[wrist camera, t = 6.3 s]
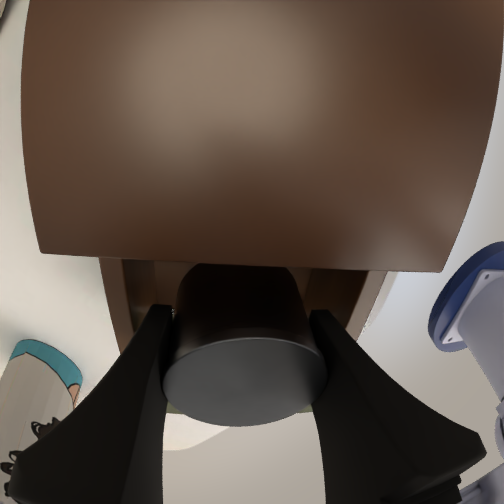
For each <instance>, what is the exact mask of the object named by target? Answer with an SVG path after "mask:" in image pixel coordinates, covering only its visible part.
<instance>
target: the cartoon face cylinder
mask: <svg viewBox="0 0 504 504" xmlns="http://www.w3.org/2000/svg"><path fill="white" fill-rule="evenodd" d="M81 384H82V375H81V373H80V370H79V369H78V368H77V367H76V365H75V364H74V363H73V362H72V361H71V360H70V359H69V358H67V357H66V356H65V355H64V354H62V353H61V352H59V351H58V350H56V349H54V348H53V347H51V346H48V345H46V344H44V343H42V342H38V341H34V340H22V341H20V342H18V343H17V345H16V347H15V349H14V351H13V353H12V355H11V357H10V359H9V362H8V364H7V366H6V368H5V370H4V373H3V375H2V377H1V379H0V501H1V502H3V503H4V504H22V503H20V502H19V501H17V500H15V499H13V498H11V497H10V496H9V495H8V488H9V482H10V477H11V473H12V468H13V465H14V462H15V460H16V457H17V455H18V454H19V453H20V452H22V451H23V450H25V449H26V448H28V447H29V446H30V445H32V444H33V443H35V442H36V441H37V440H39V439H40V438H42V437H43V436H44V435H45V434H47V433H48V432H49V431H50V430H51V429H53V428H54V427H55V426H56V425H57V424H58V423H60V422H61V421H62V420H63V419H64V418H65V417H66V416H68V415H69V414H70V413H71V412H72V411H73V410H74V409H75V406H76V402H77V399H78V395H79V391H80V388H81Z"/></svg>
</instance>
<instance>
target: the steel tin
mask: <svg viewBox="0 0 504 504" xmlns="http://www.w3.org/2000/svg"><path fill="white" fill-rule="evenodd" d="M327 380H328V369H327V365H326V362H325V359H324V356H323V355H322V353H321V351H320V350H319V349H318V348H317V345H316V342H315V339H314V336H313V333H312V330H311V327H310V323H309V320H308V317H307V314H306V311H305V308H304V305H303V302H302V299H301V296H300V293H299V290H298V287H297V284H296V281H295V279H294V277H293V275H292V274H291V273H290V272H289V270H288V269H287V268H286V267H269V266H247V265H227V264H207V263H198V264H196V265H195V266H194V267H193V268H192V269H190V270H189V271H188V273H187V274H186V275H185V276H184V278H183V279H182V281H181V283H180V285H179V287H178V291H177V296H176V303H175V310H174V317H173V324H172V332H171V339H170V347H169V355H168V361H167V362H166V365H165V367H164V371H163V377H162V389H163V392H164V395H165V397H166V398H167V400H168V401H169V403H170V404H171V405H172V406H173V407H174V408H176V409H177V410H178V411H180V412H181V413H183V414H185V415H186V416H188V417H191V418H193V419H195V420H198V421H201V422H205V423H209V424H214V425H220V426H235V427H236V426H237V427H241V426H254V425H261V424H267V423H271V422H275V421H278V420H281V419H284V418H287V417H289V416H292V415H294V414H296V413H298V412H300V411H301V410H303V409H305V408H306V407H307V406H309V405H310V404H312V403H313V402H314V401H315V400H316V399H317V398H318V397H319V396H320V395H321V393H322V392H323V390H324V389H325V386H326V384H327Z"/></svg>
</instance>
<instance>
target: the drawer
mask: <svg viewBox="0 0 504 504" xmlns="http://www.w3.org/2000/svg"><path fill="white" fill-rule="evenodd" d="M99 263H100V268H101V274H102V279H103V284H104V289H105V294H106V298H107V303H108V307H109V312H110V316H111V320H112V324H113V328H114V332H115V336H116V340H117V343H118V347H119V351H120V354H121V353H122V352H123V350H124V349H125V348H126V346H127V344H128V343H129V341H130V340H131V338H132V337H133V336H134V334H135V332H136V331H137V329H138V328H139V326H140V324H141V323H142V321H143V319H144V317H145V316H146V314H147V312H148V310H149V308H150V306H152V305H153V304H162V305H171V306H172V309H175V303H176V296H177V291H178V287H179V285H180V283H181V281H182V279H183V278H184V276H185V275H186V274H187V273H188V271H189V270H190V269H192V268H193V267H194V266H195V265H196V264H198V263H188V262H170V261H152V260H135V259H119V258H103V257H99ZM286 268H287V269H288V270H289V272H290V273H291V274H292V275H293V277H294V279H295V281H296V284H297V287H298V290H299V293H300V296H301V299H302V302H303V305H304V308H305V311H306V314H307V317H308V319H309V316H310V312H311V309H328V310H329V311H330V312H331V314H332V315H333V316H334V317H335V318H336V319H337V321H338V322H339V323H340V324H341V325H342V326H343V327H344V329H345V330H346V331H347V332H348V333H349V334H350V336H351V337H352V338H353V339H354V340H355V341H357V339H358V337H359V335H360V333H361V331H362V329H363V326H364V324H365V322H366V320H367V318H368V316H369V314H370V311H371V309H372V307H373V305H374V302H375V300H376V298H377V296H378V293H379V291H380V289H381V286H382V284H383V281H384V279H385V276H386V274H387V272H388V271H370V270H342V269H316V268H292V267H286ZM173 317H174V314H172V321H173ZM305 412H313V410H312V407H311V404H310V405H309V406H307V407H306V408H305V409H303V410H301V411H300V412H298V413H305ZM166 413H173V414H183V413H181V412H180V411H178V410H177V409H176V408H174V407H173V406H172V405H171V404H170V403H169V401H168V404H167V410H166Z"/></svg>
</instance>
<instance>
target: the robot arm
mask: <svg viewBox="0 0 504 504" xmlns="http://www.w3.org/2000/svg"><path fill="white" fill-rule="evenodd" d="M308 320H309V323H310V327H311V330H312V333H313V336H314V339H315V342H316V345H317V348H318V349H319V350H320V351H321V353H322V355H323V356H324V359H325V362H326V365H327V369H328V380H327V384H326V386H325V389H324V390H323V392H322V393H321V395H320V396H319V397H318V398H317V399H316V400H315V401H314V402H313V403H312V404H311V407H312V410H313V414H314V417H315V421H316V424H317V429H318V434H319V440H320V446H321V453H322V461H323V470H324V481H325V494H326V504H504V463H503V464H501V465H500V466H498V467H497V468H495V469H494V470H492V471H491V472H489V473H487V474H486V475H485V476H483V477H481V478H480V479H479V480H477V481H475V482H473V483H472V484H470V485H468V486H466V487H465V488H463V489H461V490H459V489H458V486H457V485H458V484H460V483H461V478H460V476H459V475H460V474H461V473H463V472H464V471H466V470H467V469H469V468H470V467H472V466H473V465H475V464H476V463H478V462H479V461H480V460H482V459H483V458H484V457H485V456H486V454H487V452H486V450H485V447H484V445H483V443H482V440H481V438H480V436H479V434H478V433H477V432H474V431H472V430H470V429H468V428H466V427H464V426H461V425H459V424H457V423H455V422H453V421H451V420H449V419H448V418H446V417H444V416H443V415H441V414H439V413H438V412H436V411H434V410H433V409H431V408H430V407H428V406H427V405H425V404H424V403H422V402H421V401H419V400H418V399H417V398H415V397H414V396H413V395H411V394H410V393H409V392H407V391H406V390H405V389H404V388H403V387H402V386H400V385H399V384H398V383H397V382H396V381H394V380H393V379H392V378H391V377H390V376H389V375H388V374H387V373H386V372H385V371H384V370H382V369H381V368H380V367H379V366H378V365H377V364H376V363H375V362H374V361H373V360H372V359H371V358H370V356H368V354H367V353H366V352H365V351H364V350H363V349H362V348H361V347H360V346H359V345H358V343H357V342H356V341H355V340H354V339H353V338H352V337H351V336H350V334H349V333H348V332H347V331H346V330H345V329H344V327H343V326H342V325H341V324H340V323H339V322H338V321H337V319H336V318H335V317H334V316H333V315H332V314H331V312H330V311H329V310H328V309H311V312H310V316H309V319H308ZM172 324H173V321H172V306H171V305H162V304H153V305H152V306H150V308H149V310H148V312H147V314H146V316H145V317H144V319H143V321H142V323H141V324H140V326H139V328H138V329H137V331H136V332H135V334H134V336H133V337H132V338H131V340H130V341H129V343H128V344H127V346H126V348H125V349H124V350H123V352H122V353H121V355H120V356H119V357H118V359H117V360H116V361H115V363H114V364H113V365H112V367H111V368H110V370H109V371H108V372H107V373H106V375H105V376H104V377H103V378H102V380H101V381H100V382H99V383H98V384H97V385H96V387H95V388H94V389H93V390H92V391H91V392H90V393H89V394H88V395H87V397H86V398H85V399H84V400H83V401H82V402H81V403H80V404H79V405H78V406H77V407H76V408H75V409H74V410H73V411H72V412H71V413H70V414H69V415H68V416H66V417H65V418H64V419H63V420H62V421H61V422H60V423H58V424H57V425H56V426H55V427H54V428H53V429H51V430H50V431H49V432H48V433H47V434H45V435H44V436H43V437H42V438H40V439H39V440H37V441H36V442H35V443H33V444H32V445H30V446H29V447H28V448H26V449H25V450H23V451H22V452H20V453H19V454H18V455H17V457H16V460H15V462H14V465H13V468H12V473H11V477H10V482H9V488H8V495H9V496H10V497H11V498H13V499H15V500H17V501H19V502H20V503H22V504H163V490H162V489H163V486H162V453H163V432H164V423H165V417H166V410H167V404H168V400H167V398H166V397H165V395H164V392H163V389H162V377H163V371H164V367H165V365H166V362H167V361H168V355H169V347H170V339H171V332H172ZM463 340H464V342H465V343H466V345H467V347H468V348H469V350H470V351H471V352H472V354H473V356H474V357H475V359H476V361H477V362H478V364H479V365H480V367H481V369H482V370H483V372H484V374H485V375H486V377H487V379H488V380H489V382H490V384H491V385H492V387H493V389H494V391H495V392H496V394H497V396H498V398H499V400H500V401H501V403H500V404H499V405H498V406H497V407H496V410H497V411H498V413H499V415H498V417H497V419H496V423H495V439H496V444H497V447H498V450H499V452H500V454H501V456H502V457H503V459H504V270H495V269H482V270H481V271H480V272H479V273H478V275H477V277H476V279H475V281H474V283H473V284H472V286H471V288H470V290H469V292H468V294H467V296H466V297H465V299H464V301H463V303H462V305H461V306H460V308H459V310H458V312H457V313H456V315H455V317H454V318H453V320H452V322H451V323H450V325H449V327H448V328H447V330H446V331H445V333H444V334H443V336H442V338H441V342H442V344H446V343H452V342H457V341H463ZM0 504H4V503H3V502H1V501H0Z"/></svg>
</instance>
